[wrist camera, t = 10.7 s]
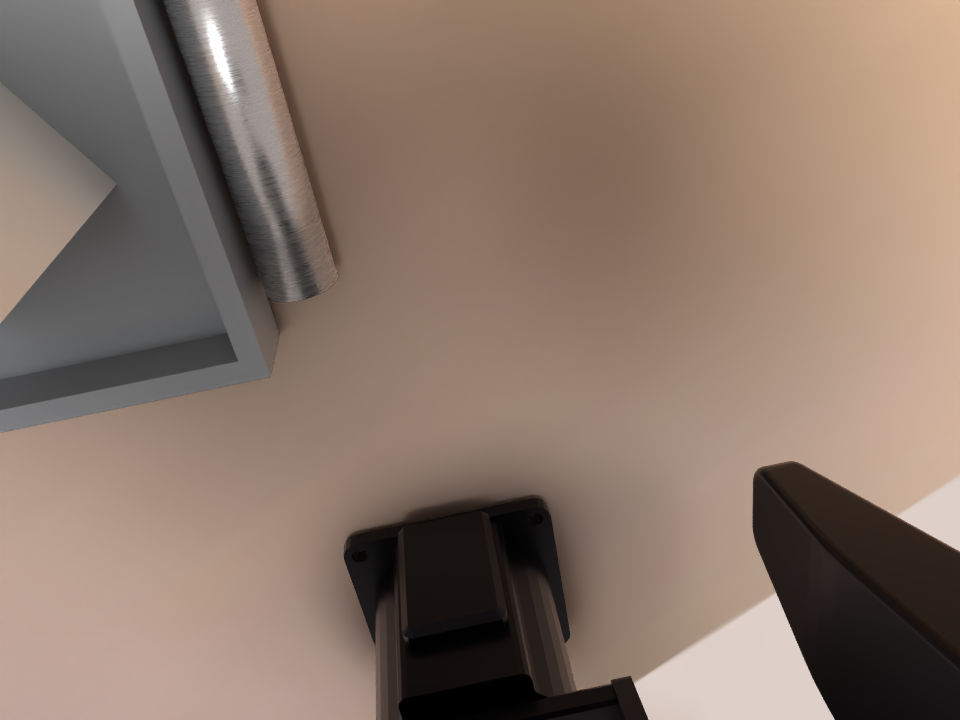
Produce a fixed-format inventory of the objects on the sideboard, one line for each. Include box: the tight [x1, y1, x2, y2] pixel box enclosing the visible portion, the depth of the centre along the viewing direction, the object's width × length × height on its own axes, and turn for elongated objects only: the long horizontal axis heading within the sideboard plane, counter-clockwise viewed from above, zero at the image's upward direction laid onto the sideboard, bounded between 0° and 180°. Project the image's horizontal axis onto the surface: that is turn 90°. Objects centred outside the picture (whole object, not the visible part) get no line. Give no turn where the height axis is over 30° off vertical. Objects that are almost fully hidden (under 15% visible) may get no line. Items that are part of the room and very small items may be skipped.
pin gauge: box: [163, 0, 338, 302], centre depth 17 cm, size 10×2×2 cm
